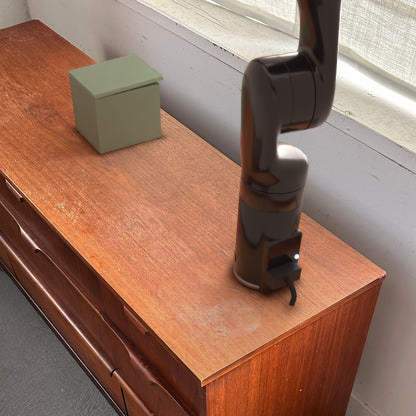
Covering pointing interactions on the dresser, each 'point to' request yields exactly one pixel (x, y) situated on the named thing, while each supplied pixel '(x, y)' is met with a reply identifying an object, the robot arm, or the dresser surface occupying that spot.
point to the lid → (115, 76)
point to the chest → (117, 116)
